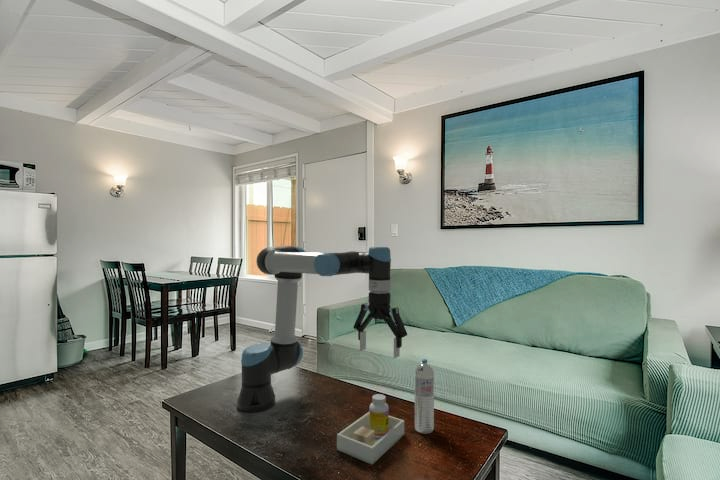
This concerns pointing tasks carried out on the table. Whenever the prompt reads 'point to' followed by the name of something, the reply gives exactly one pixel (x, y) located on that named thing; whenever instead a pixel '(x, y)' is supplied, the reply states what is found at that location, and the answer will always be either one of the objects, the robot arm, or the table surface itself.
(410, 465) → the table surface
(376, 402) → the supplement bottle
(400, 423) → the tote
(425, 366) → the water bottle
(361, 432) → the maple cube
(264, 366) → the robot arm
